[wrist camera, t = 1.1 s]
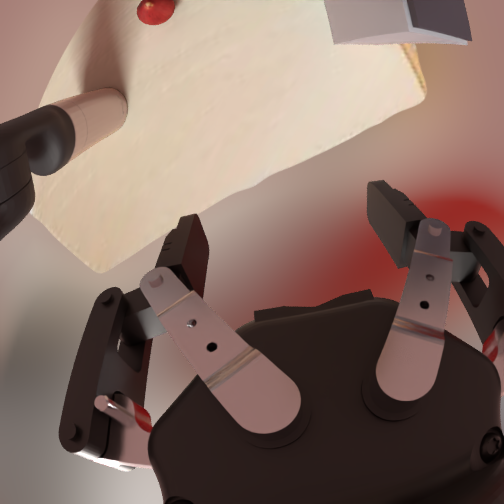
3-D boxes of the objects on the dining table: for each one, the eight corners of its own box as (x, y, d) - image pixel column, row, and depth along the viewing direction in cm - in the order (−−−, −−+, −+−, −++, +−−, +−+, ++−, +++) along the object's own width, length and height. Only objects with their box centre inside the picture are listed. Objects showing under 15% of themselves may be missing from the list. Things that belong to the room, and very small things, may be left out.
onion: (140, 22, 29) (120, 16, 22) (157, -4, 26) (140, -16, 19) (168, 31, 31) (153, 25, 24) (186, 4, 28) (174, -8, 21)
